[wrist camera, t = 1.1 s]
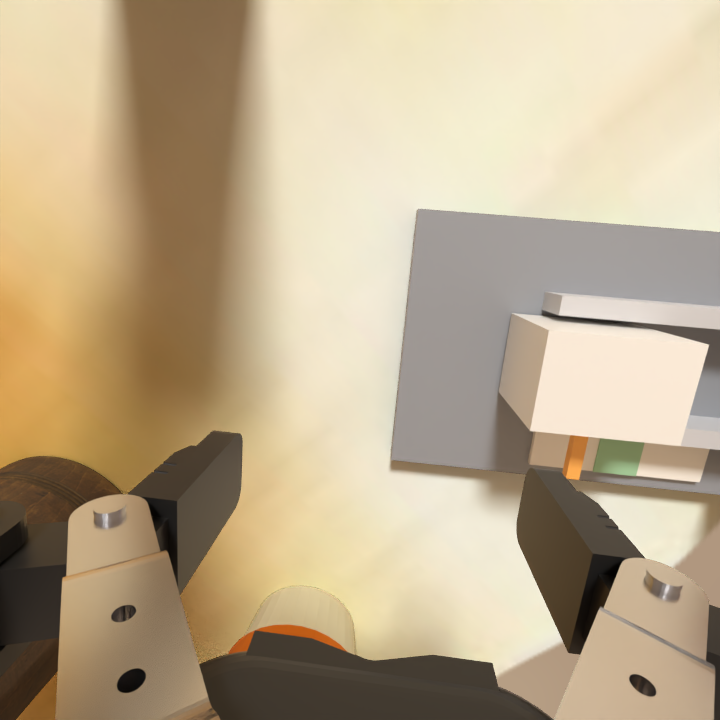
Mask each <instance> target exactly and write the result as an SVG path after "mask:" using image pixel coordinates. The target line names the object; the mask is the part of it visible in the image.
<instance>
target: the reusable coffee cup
mask: <svg viewBox="0 0 720 720" xmlns="http://www.w3.org/2000/svg"><path fill="white" fill-rule="evenodd" d="M255 630H256V631H263V632H270V633H278V634H285V635H292V636H299V637H307V638H313V639H315V640H318V641H320V642H323V643H326V644H328V645H331V646H333V647H336V648H338V649H341V650H344V651H346V652H349V653H351V654H354V655H355V636H354V625H353V621H352V618H351V615H350V613H349V612H348V610H347V609H346V607H345V606H344V605H343V604H342V603H341V602H340V601H339V600H338V599H337V598H335V597H334V596H333V595H331V594H329V593H327V592H325V591H323V590H321V589H317V588H314V587H308V586H291V587H287V588H283V589H280V590H278V591H276V592H274V593H273V594H271V595H270V596H268V597H267V598H266V599H265V601H264V602H263V603H262V604H261V606H260V608H259V610H258V612H257V613H256V615H255V617H254V619H253V621H252V622H251V624H250V626H249V628H248V630H247V632H246V633H245V635H244V637H242V638H241V639H239V640H238V642H237V643H236V644H235V645H234V646H233V647H232V648H231V650H230V652H229V653H228V654H232V653H236V652H243V651H247V650H248V647H249V645H250V642H251V639H252V637H253V634H254V631H255Z"/></svg>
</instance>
